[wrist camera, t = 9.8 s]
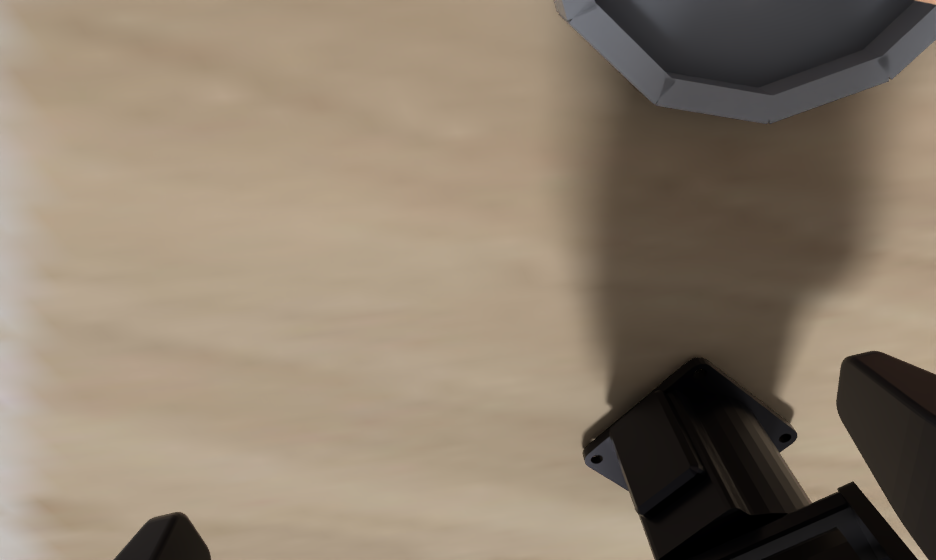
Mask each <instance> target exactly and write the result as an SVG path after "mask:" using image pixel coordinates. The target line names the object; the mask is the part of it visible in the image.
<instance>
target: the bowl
mask: <svg viewBox="0 0 936 560" xmlns="http://www.w3.org/2000/svg"><path fill="white" fill-rule="evenodd" d="M554 3H555V7H556V10H557V12H558V13H559V15H560V16H561V17H562V18H563V19H564V20H565V21H566V22H567V23H568V24H569V25H570V26H571V27H572V28H573V29H574V30H575V31H576V32H577V33H579V34H580V35H581V36H582V37H583V38H584V39H585V40H586V41H587V42H588V43H589V44H590V45H591V46H592V47H593V48H594V49H595V50H596V51H597V52H598V53H600V54H601V55H602V56H603V57H604V58H605V59H606V60H607V61H608V62H609V63H610V64H611V65H612V66H613V67H614V68H615V69H616V70H617V71H618V72H619V73H621V74H622V75H623V76H624V77H625V78H626V79H627V80H628V81H629V82H630V83H631V84H632V85H633V86H634V87H635V88H636V89H637V90H638V91H639V92H641V93H642V94H643V95H644V96H645V97H646V98H647V99H649V100H650V101H651V102H652V103H653V104H655V105H656V106H661V107H667V108H673V109H679V110H685V111H691V112H697V113H703V114H709V115H715V116H721V117H727V118H734V119H740V120H746V121H752V122H758V123H764V124H767V123H769V124H771V123H773V122H776V121H779V120H782V119H785V118H787V117H790V116H793V115H796V114H799V113H801V112H804V111H807V110H810V109H813V108H815V107H818V106H821V105H824V104H827V103H829V102H832V101H835V100H838V99H841V98H843V97H846V96H849V95H852V94H855V93H857V92H860V91H863V90H866V89H869V88H871V87H874V86H877V85H880V84H883V83H885V82H888V81H889V79H893V78H894V77H895V76H896V75H897V74H898V73H900V72H901V71H902V70H903V69H904V68H905V67H906V66H907V65H908V64H909V63H911V62H912V61H913V60H914V59H915V58H916V57H917V56H918V55H919V54H920V53H922V52H923V51H924V50H925V49H926V48H927V47H928V46H929V45H930V44H931V43H933V42H934V41H935V40H936V5H935V4H930V3H925V2H920V1H916V0H554Z"/></svg>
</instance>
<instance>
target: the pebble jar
mask: <svg viewBox="0 0 936 560" xmlns="http://www.w3.org/2000/svg"><path fill="white" fill-rule="evenodd" d="M916 1H920V2H925V3H930V4H935V5H936V0H916Z"/></svg>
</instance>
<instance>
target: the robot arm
mask: <svg viewBox="0 0 936 560" xmlns="http://www.w3.org/2000/svg"><path fill="white" fill-rule="evenodd" d="M699 369H702V370H701V371H700V372H698V373H695V372H696V371H697V370H699ZM836 404H837V410H838V414H839V416H840V419H841V421H842V422H843V424H844V426H845V427H846V429H847V431H848V433H849V434H850V436H851V438H852V439H853V441H854V443H855V445H856V446H857V448H858V450H859V451H860V453H861V455H862V457H863V458H864V460H865V462H866V463H867V465H868V467H869V468H870V470H871V472H872V474H873V475H874V477H875V479H876V480H877V482H878V484H879V486H880V487H881V489H882V491H883V492H884V494H885V496H886V497H887V499H888V501H889V503H890V504H891V506H892V508H893V509H894V511H895V512H896V514H897V516H898V517H899V519H900V520H901V522H902V523H903V525H904V526H905V528H906V529H907V530H908V532H909V533H910V535H911V536H912V538H913V539H914V540H915V542H916V543H917V544H918V546H919V547H920V549H921V550H922V551H923V553H924V554H925V555H926V557H927V558H928V559H929V560H936V374H933V373H931V372H928V371H926V370H924V369H921V368H919V367H916V366H914V365H911V364H909V363H907V362H904V361H902V360H899V359H897V358H895V357H892V356H890V355H887V354H885V353H882V352H879V351H870V352H865V353H861V354H857V355H852V356H848V357H846V358H845V359H844V360H843V362H842V364H841V369H840V377H839V385H838V392H837V400H836ZM796 438H797V433H796V431H795V430H794V428H793V427H792V426H791V424H790V423H788V422H787V421H786V420H785V419H783V418H782V417H781V416H779V415H778V414H777V413H775V412H774V411H773V410H772V409H770V408H769V407H768V406H766V405H765V404H764V403H762V402H761V401H760V400H759V399H757V398H756V397H755V396H753V395H752V394H751V393H749V392H748V391H747V390H746V389H744V388H743V387H742V386H740V385H739V384H738V383H736V382H735V381H734V380H733V379H731V378H730V377H729V376H727V375H726V374H725V373H723V372H722V371H721V370H719V369H718V368H717V367H716V366H714V365H713V364H712V363H710V362H709V361H708V360H706V359H704V358H700V357H697V358H693V359H691V360H690V361H688V362H687V363H686V364H684V365H683V366H682V367H681V368H680V369H678V370H677V371H676V372H675V373H674V374H673V375H671V376H670V377H669V378H668V379H667V380H665V381H664V382H663V383H662V384H661V385H659V386H658V387H657V388H656V389H655V390H653V391H652V392H651V393H650V394H649V395H648V396H646V397H645V398H644V399H643V400H642V401H640V402H639V403H638V404H637V405H636V406H634V407H633V408H632V409H631V410H630V411H628V412H627V413H626V414H625V415H624V416H622V417H621V418H620V419H619V420H618V421H617V422H615V423H614V424H613V425H612V426H611V427H609V428H608V429H607V430H606V431H605V432H603V433H602V434H601V435H600V436H599V437H597V438H596V439H595V440H594V441H593V442H591V443H590V444H589V445H588V446H587V447H586V448H585V449H584V450H583V457H584V460H585V464H586V465H587V466H588V467H590V468H592V469H593V470H595V471H596V472H598V473H600V474H601V475H603V476H605V477H606V478H608V479H610V480H611V481H613V482H615V483H616V484H618V485H619V486H621V487H623V488H624V489H626V490H628V491H629V493H630V495H631V498H632V501H633V504H634V507H635V510H636V512H637V513H638V514H639V517H640V520H641V523H642V525H643V528H644V531H645V534H646V536H647V539H648V542H649V545H650V548H651V550H652V553H653V556H654V559H655V560H918V559H917V558H916V557H915V555H914V554H913V553H912V552H911V551H910V549H909V548H908V547H907V546H906V545H905V543H904V542H903V541H902V540H901V539H900V537H899V536H898V535H897V534H896V532H895V531H894V530H893V529H892V528H891V526H890V525H889V524H888V523H887V522H886V520H885V519H884V518H883V517H882V516H881V514H880V513H879V512H878V511H877V510H876V508H875V507H874V506H873V505H872V503H871V502H870V501H869V500H868V499H867V497H866V496H865V495H864V494H863V493H862V491H861V490H860V489H859V488H858V487H857V485H856V484H855V483H854V482H851V483H848V484H846V485H844V486H842V487H840V488H837V490H838V492H836V493H834V494H831V495H829V496H827V497H825V498H822V499H820V500H818V501H816V502H814V503H812V502H811V501H810V499H809V498H808V496H807V495H806V493H805V491H804V490H803V488H802V487H801V485H800V484H799V482H798V481H797V479H796V478H795V476H794V475H793V473H792V471H791V470H790V468H789V467H788V465H787V464H786V462H785V461H784V459H783V458H782V456H781V454H780V452H781V451H783V450H784V449H785V448H787V447H788V446H789V445H791V444H792V443H793V442H794V441H795V440H796ZM595 455H598V456H595ZM593 456H595V457H593ZM114 560H211V556H210V552H209V549H208V547H207V545H206V544H205V542H204V541H203V539H202V538H201V536H200V535H199V533H198V532H197V530H196V529H195V527H194V526H193V524H192V523H191V521H190V520H189V518H188V517H187V516H186V515H185V514H183V513H181V512H175V513H170V514H166V515H162V516H158V517H154V518H152V519H150V520H149V521H148V522H146V523H145V524H144V526H143V527H142V528H141V529H140V530H139V531H138V532H137V534H136V535H135V536H134V537H133V538H132V539H131V540H130V542H129V543H128V544H127V545H126V546H125V547H124V548H123V550H122V551H121V552H120V553H119V554H118V555H117V556H116V558H115V559H114Z"/></svg>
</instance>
